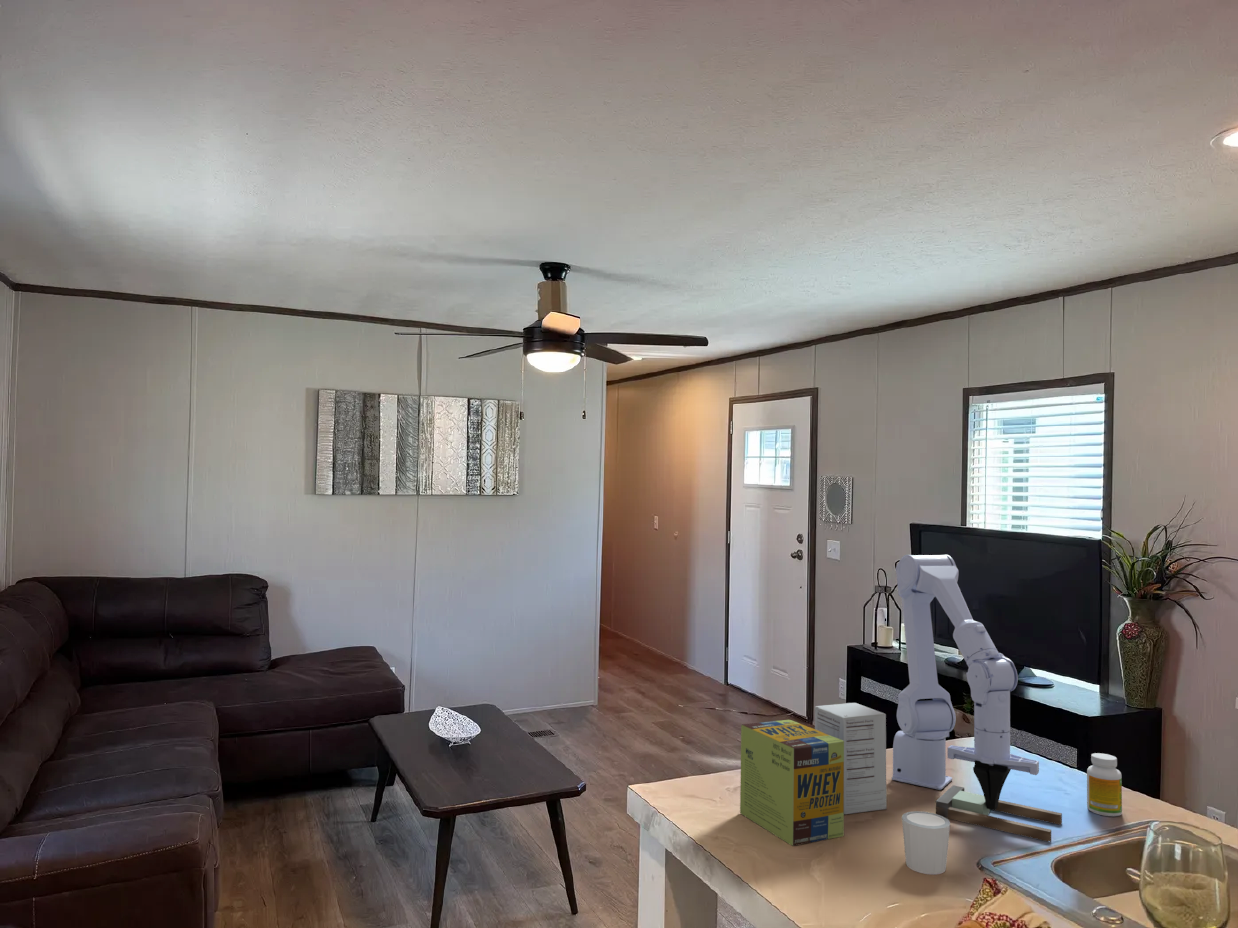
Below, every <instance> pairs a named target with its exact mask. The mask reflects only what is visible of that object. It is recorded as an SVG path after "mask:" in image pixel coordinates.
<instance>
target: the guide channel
mask: <svg viewBox="0 0 1238 928" xmlns="http://www.w3.org/2000/svg"><path fill="white" fill-rule="evenodd" d="M959 791H965V787H963V786H957V785H954V784H952V786H951V787H949V788H948V789H947V790H946V791H945V792H944V793H943V794H941V796H939V797H938V798H937V800H935V814H937V815H940V816H943V817H945V818H946V819H948V820H954V821H956V822H957V821H958V822H962V823H966V824H970V825H975V826H979V827H980V826H981V827H983V828H988V829H992V830H997V831H1001V832H1006V833H1009V834H1014V835H1018V836H1023V837H1027V838H1031V839H1036V840H1040V841H1044V842H1048V841H1050V842H1051V841H1052V829H1050V828H1047V827H1041V826H1037V825H1034V824H1033V825H1031V824H1028V823H1023V822H1019V821H1014V820H1010V819H1005V818H1001V817H996V816H993V815H991V816H990V815H989V814H988V815H983V814H979V813H975V812H970V811H966V810H961V809H957V808H952V798H953V797H954V796H955V795H956V794H957V793H958V792H959ZM994 811H995V812H1000V813H1003V814H1004V813H1005V814H1009V815H1012V816H1013V815H1014V816H1018V817H1023V818H1027V819H1031V820H1037V821H1041V822H1047V823H1051V824H1054V825H1055V824H1056V825H1062V824H1063V813H1062V812H1058V811H1053V810H1047V809H1044V808H1038V807H1034V806H1031V805H1025V804H1024V805H1023V804H1020V803H1015V802H1010V801H1006V800H1001V799H999V801H998V807H997V809H996V810H994Z"/></svg>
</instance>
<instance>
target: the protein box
mask: <svg viewBox="0 0 1238 928" xmlns="http://www.w3.org/2000/svg"><path fill="white" fill-rule="evenodd" d="M739 792H740V795H739V796H740V797H739V799H740V800H739V801H740V803H739V813H740V815H742V816H744V817H746V818H747V819H749V820H751V821H752V822H754V823H755V824H756V825H758V826H760V827H761V828H763V829H765V830H766V831H767V832H769V833H771V834H773V835H774V836H775V837H777V838H779V839H780V840H782V841H783V842H785V843H787V845H790V846H792V847H794V846H799V845H804V844H809V843H816V842H820V841H824V840H825V841H826V840H830V839H838V838H841V837H844V836H845V832H844V830H845V829H844V825H845V821H844V816H845V814H844V741H843V740H841V739H838V738H835V737H833V736H830V735H827V734H825V733H823V732H820V731H818V730H815V728H813V727H810V726H807V725H805V724H803V723H799V722H797V721H794V720H791V719H784V720H783V719H782V720H771V721H763V722H752V723H743V724H741V728H740V791H739Z"/></svg>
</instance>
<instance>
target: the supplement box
mask: <svg viewBox="0 0 1238 928" xmlns="http://www.w3.org/2000/svg"><path fill="white" fill-rule="evenodd" d="M886 718H887V714H886V713H884V712H882V711H879V710H876V709H873V708H871V707H868V706H865V705H862V704H859V703H857V702H846V703H834V704H823V705H815V706H814V729H815V730H818V731H820V732H823V733H825V734H827V735H830V736H833V737H835V738H838V739H841V740H843V741H844V815H848V814H850V815H851V814H858V813H864V812H865V813H866V812H873V811H880V810H887V726H886V725H887V723H886V722H887V719H886Z"/></svg>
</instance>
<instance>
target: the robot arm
mask: <svg viewBox="0 0 1238 928" xmlns="http://www.w3.org/2000/svg"><path fill="white" fill-rule="evenodd" d="M895 572H896V573H895V574H896V581H897V582H896V583H897V584H896V585H897V592H898V596H899V597H900V598H901V605H902V606H901V607H902V608H901V609H902V615H903V616H902V617H903V626H904V627H903V628H904V638H905V647H906V648H905V649H906V659H907V667H908V668H907V669H908V679H909V684H908V685H907V686H906V687H905V688H903V690H901V692H899V693H898V695H897V699H898V701H897V702H898V703H897V704H898V705H897V709H896V720H897V723H898V726H899V728H900V730H898V731H897V732H896V733H895V735H894V737H893V744H892V777H891V780H892V781H898V782H902V783H906V784H911V785H915V786H920V787H924V788H929V789H934V790H939V791H941V790H942V789H944V788H945V787H946V786H947V785H948V784H950V782H951V781H953V777H952V776H949V775H947V774H946V773H947V772H946V770H947V769H946V766H947V763H946V759H948V760H949V759H950V760H960V761H967V762H971V763H974V766H973V767H972V768H973V769H972V771H973V773H974V775H975V777H976V779H977V782H979V786H980V788H981V790H982V793H983V794H982V795H984V797H985V802H986V807H987V809H990V810H992V811H995V810H996V809H997V807H998V801H999V800H1000V796H1001V793H1002V789H1003V787H1004V785H1005V782H1006V781H1007V777H1008V776H1009V774H1010V773H1011V770H1014V771H1019V772H1025V773H1029V774H1030V775H1034V776H1037V775H1038V774H1039V773H1040V761H1039V760H1035V759H1030V758H1026V757H1025V756H1020V755H1016V754H1012V753H1011V692H1012V691H1014V690H1015V689H1016V687H1017V685H1018V680H1019V675H1018V671H1017V669H1016V666H1015V663H1014V662H1013V661H1012V660H1011V659H1010V658H1008V657H1007V656H1005V655H1004V654H1003V653H1001V652H999V651H998V648H996V646H995V643H994V642H993V640H992V639H991V636H990V634H989V633H988V631H987V629H986V628H985V626H984V624H983V623H982V622H980V621H976V620H974V619H973V616H972V614H971V612H970V610H969V608H968V604H967V602H966V600H965V598H964V596H963V593H962V592H961V591H962V590H961V588H960V587H959V584H958V580H959V569H958V567H957V565H956V562H955V560H954V559H953V557H951V555H949V554H948V553H947V554H932V555H931V554H930V555H929V554H924V555H923V554H918V555H916V554H915V555H914V554H904V555H903V556H901V558H900V559H899V561H898V563H897V565H896V566H895ZM934 598H936V600H937V601H938V603H939V604H940V605H941V608H942V609H943V610H944V612H945V614H946V615H947V617H948V618H949V621H950V622H951V624H952V625H953V626H954V630H953V633H952V638H953V640H954V641H955V643H956V646H957V648H958V650H959V652H960V653H961V655H962V658H963V660H964V661H965V663H966V665H967V667H968V669H967V672H966V673H965V674H966V681H967V683H968V685H969V688H970V698H971V700H972V701H973V702H974V703H973V705H974V706H973V711H974V712H973V715H974V716H973V720H974V721H973V722H974V723H973V725H974V727H973V728H974V733H973V734H974V735H973V736H974V737H973V738H974V740H973V741H974V742H973V744H974V745H973V747H970V746H969V747H968V746H959V745H952V744H951V745H949V746H948V747H947V745H946V743H947V742H946V738H949V737H950V732H952V731H953V730H954V728H955V725H956V721H957V717H956V712H955V709H954V707H953V704H952V701H951V695H950V693H949V692H948V691H947V690H946V689H945V688H943V687H942V686H941V685H940V684H939V679H938V670H937V661H936V652H935V643H934V633H933V623H932V622H933V621H932V613H931V612H932V611H931V602H932V601H933V600H934ZM925 699H926V700H925ZM928 699H930V700H928ZM946 747H947V749H946ZM946 750H947V752H946ZM946 753H947V755H946ZM946 757H947V758H946Z"/></svg>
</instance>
